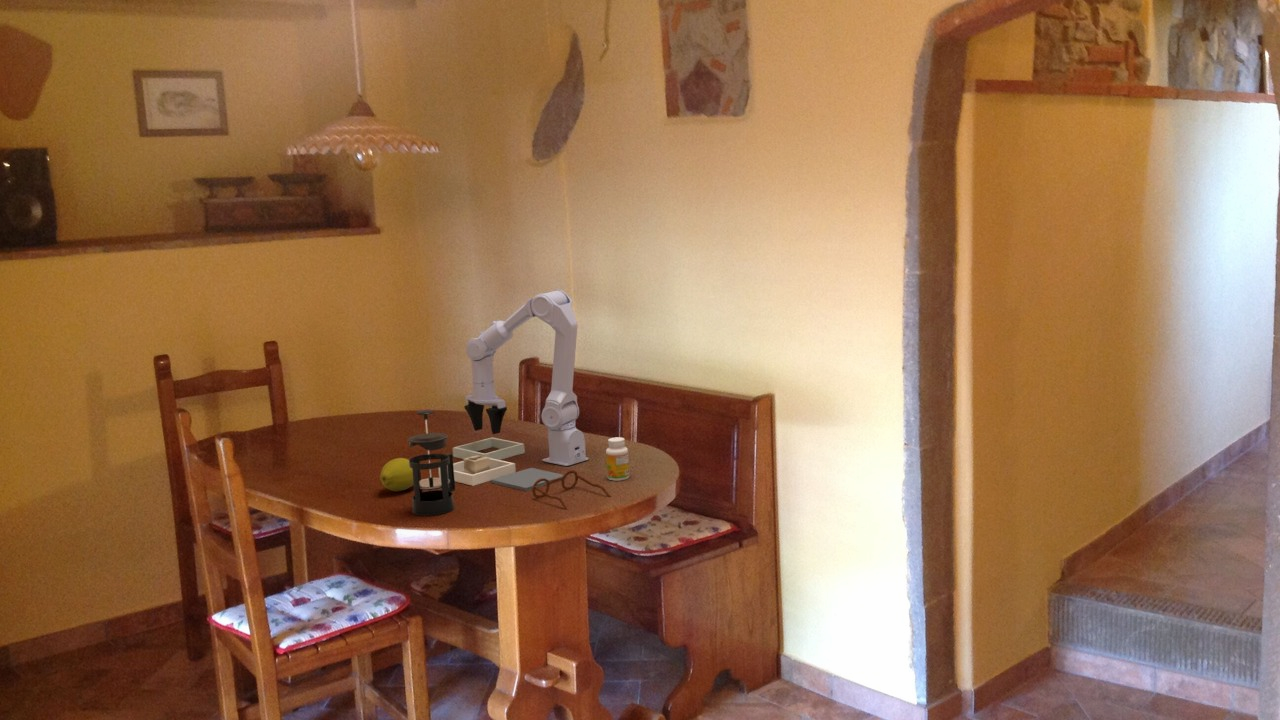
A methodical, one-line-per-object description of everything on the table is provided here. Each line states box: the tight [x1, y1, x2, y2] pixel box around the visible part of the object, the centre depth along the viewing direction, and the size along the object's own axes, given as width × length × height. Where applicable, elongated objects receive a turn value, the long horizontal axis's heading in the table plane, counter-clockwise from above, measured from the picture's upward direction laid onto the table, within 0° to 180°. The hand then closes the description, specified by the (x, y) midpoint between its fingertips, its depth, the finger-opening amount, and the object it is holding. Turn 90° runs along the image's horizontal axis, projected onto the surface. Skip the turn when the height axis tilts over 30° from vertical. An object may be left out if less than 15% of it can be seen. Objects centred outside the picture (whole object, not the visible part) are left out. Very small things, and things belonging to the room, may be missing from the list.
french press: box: [407, 409, 456, 517], centre depth 251 cm, size 12×9×23 cm
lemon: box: [379, 457, 414, 493], centre depth 268 cm, size 11×8×8 cm
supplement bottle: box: [605, 436, 630, 482], centre depth 270 cm, size 5×5×10 cm
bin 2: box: [437, 458, 517, 487], centre depth 280 cm, size 14×14×2 cm
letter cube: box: [463, 455, 490, 475], centre depth 280 cm, size 4×4×5 cm
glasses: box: [531, 470, 612, 510], centre depth 256 cm, size 13×13×5 cm
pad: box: [490, 467, 567, 492], centre depth 272 cm, size 13×13×1 cm
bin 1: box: [452, 436, 526, 460], centre depth 300 cm, size 14×14×2 cm
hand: (487, 431), depth 299 cm, fingers open, 7 cm apart
